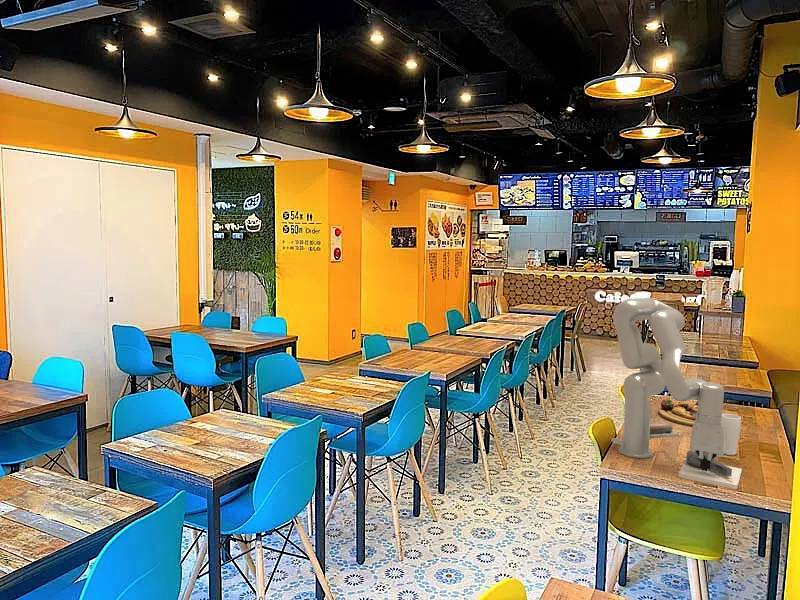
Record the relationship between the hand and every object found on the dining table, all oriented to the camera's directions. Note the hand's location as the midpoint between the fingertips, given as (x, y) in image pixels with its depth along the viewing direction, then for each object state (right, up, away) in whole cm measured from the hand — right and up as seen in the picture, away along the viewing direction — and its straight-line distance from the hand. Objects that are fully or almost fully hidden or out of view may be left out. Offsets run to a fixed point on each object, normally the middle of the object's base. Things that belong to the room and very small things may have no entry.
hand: (704, 469), depth 210 cm
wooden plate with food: (+32, +3, +72) cm, 79 cm away
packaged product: (+1, +1, +47) cm, 47 cm away
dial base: (+3, -3, +3) cm, 5 cm away
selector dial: (+3, -1, +4) cm, 5 cm away
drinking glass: (+22, -1, +25) cm, 33 cm away
